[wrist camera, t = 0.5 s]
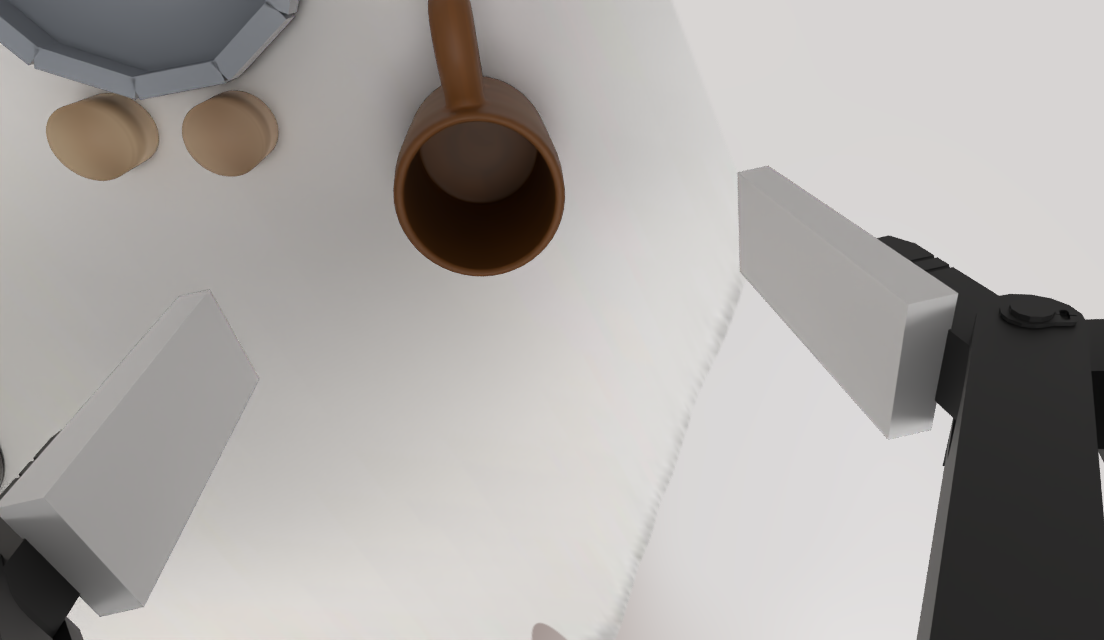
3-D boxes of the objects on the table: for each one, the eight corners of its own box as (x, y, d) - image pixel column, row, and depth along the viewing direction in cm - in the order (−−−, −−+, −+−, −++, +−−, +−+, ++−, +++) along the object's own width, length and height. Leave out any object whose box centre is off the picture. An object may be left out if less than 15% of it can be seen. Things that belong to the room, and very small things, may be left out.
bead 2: (224, 165, 33) (203, 182, 30) (193, 97, 31) (167, 109, 28) (289, 152, 33) (273, 168, 30) (262, 84, 31) (242, 94, 28)
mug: (373, -13, 29) (335, -4, 21) (527, -32, 30) (547, -30, 22) (426, 217, 35) (412, 292, 27) (552, 199, 36) (575, 268, 28)
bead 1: (105, 169, 32) (74, 186, 30) (67, 100, 30) (29, 113, 28) (172, 156, 32) (145, 172, 30) (136, 86, 30) (105, 98, 28)
